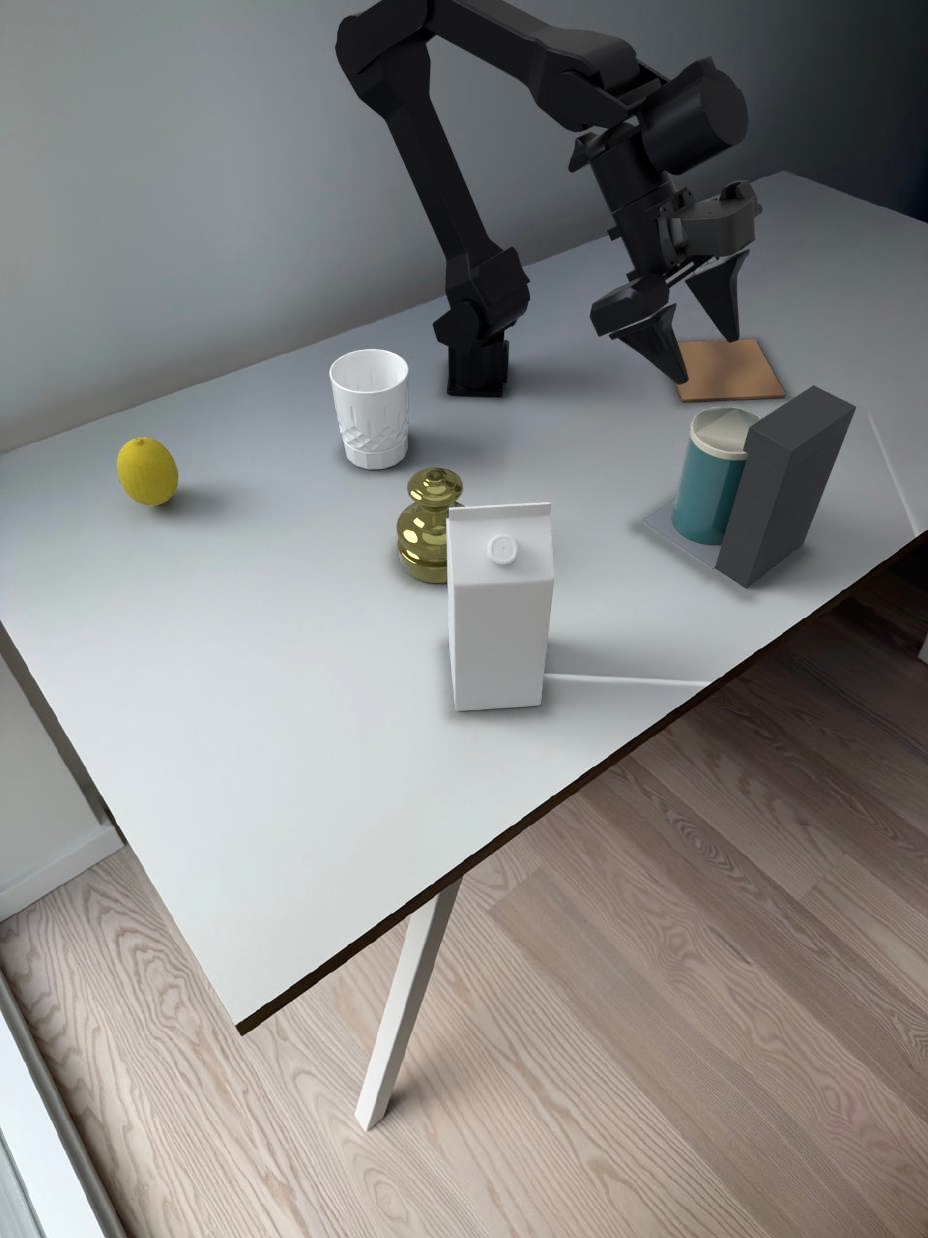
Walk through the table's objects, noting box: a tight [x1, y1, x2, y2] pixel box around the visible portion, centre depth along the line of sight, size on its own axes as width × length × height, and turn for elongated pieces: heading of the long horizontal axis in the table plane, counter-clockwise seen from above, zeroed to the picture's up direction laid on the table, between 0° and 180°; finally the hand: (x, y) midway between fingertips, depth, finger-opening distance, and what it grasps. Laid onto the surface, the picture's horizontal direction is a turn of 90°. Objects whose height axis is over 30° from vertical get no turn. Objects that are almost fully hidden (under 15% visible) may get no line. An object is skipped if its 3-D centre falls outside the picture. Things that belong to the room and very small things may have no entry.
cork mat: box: [674, 338, 786, 403], centre depth 106 cm, size 12×12×1 cm
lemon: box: [116, 436, 179, 507], centre depth 88 cm, size 6×6×8 cm
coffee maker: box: [641, 385, 857, 589], centre depth 81 cm, size 12×10×16 cm
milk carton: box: [446, 501, 555, 712], centre depth 69 cm, size 7×7×19 cm
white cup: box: [328, 348, 410, 470], centre depth 93 cm, size 8×8×10 cm
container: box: [671, 406, 762, 545], centre depth 83 cm, size 7×7×11 cm
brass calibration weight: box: [396, 466, 466, 584], centre depth 82 cm, size 7×7×10 cm
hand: (709, 361), depth 82 cm, fingers open, 9 cm apart
